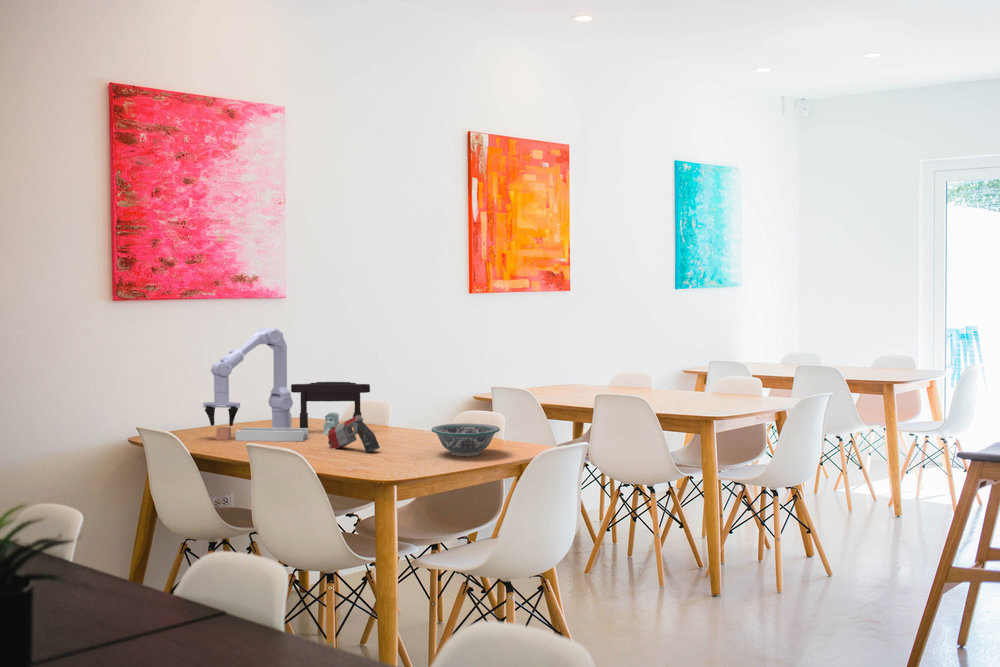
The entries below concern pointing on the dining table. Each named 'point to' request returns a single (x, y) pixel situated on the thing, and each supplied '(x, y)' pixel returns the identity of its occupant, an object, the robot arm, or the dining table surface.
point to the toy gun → (352, 434)
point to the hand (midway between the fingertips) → (221, 425)
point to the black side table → (328, 398)
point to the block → (223, 433)
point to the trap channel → (272, 434)
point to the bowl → (465, 437)
